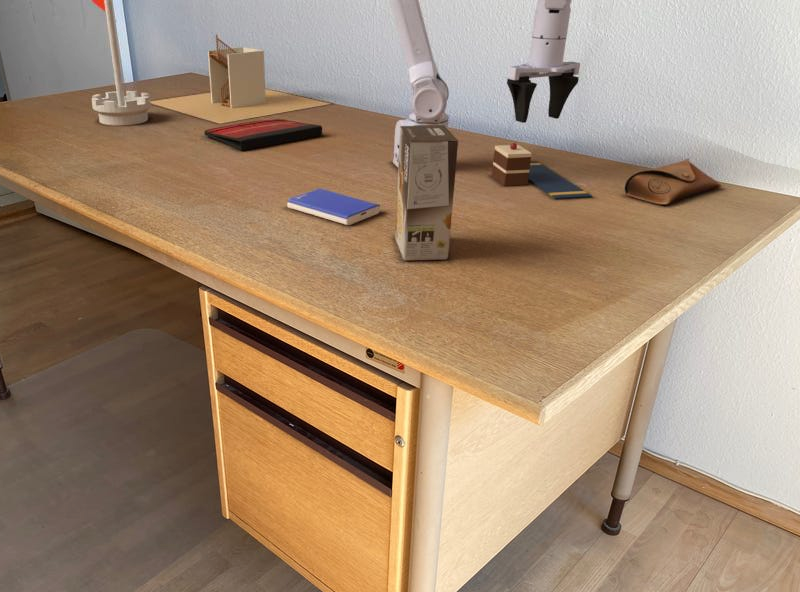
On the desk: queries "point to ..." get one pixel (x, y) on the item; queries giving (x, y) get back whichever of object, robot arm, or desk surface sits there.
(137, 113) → the flag stand
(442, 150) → the coffee box
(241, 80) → the staircase
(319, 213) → the hard drive
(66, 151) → the desk surface
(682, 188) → the sunglasses case
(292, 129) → the binder
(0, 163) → the desk surface
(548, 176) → the cloth
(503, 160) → the cake slice
